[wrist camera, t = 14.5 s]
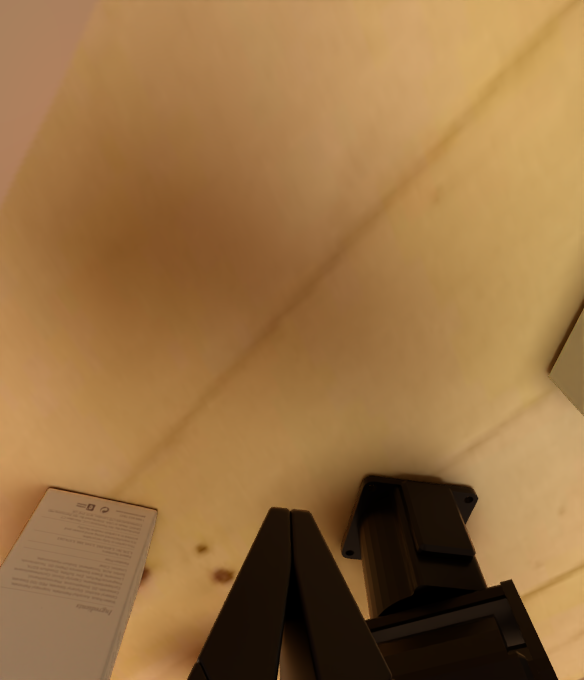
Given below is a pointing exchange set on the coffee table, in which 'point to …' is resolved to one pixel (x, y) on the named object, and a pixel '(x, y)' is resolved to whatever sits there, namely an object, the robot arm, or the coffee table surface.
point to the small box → (71, 587)
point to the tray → (572, 367)
